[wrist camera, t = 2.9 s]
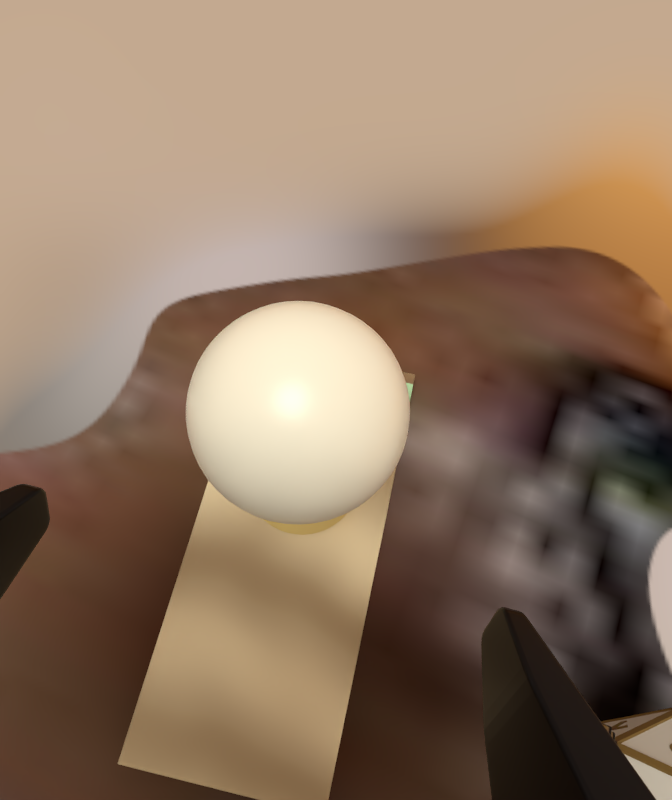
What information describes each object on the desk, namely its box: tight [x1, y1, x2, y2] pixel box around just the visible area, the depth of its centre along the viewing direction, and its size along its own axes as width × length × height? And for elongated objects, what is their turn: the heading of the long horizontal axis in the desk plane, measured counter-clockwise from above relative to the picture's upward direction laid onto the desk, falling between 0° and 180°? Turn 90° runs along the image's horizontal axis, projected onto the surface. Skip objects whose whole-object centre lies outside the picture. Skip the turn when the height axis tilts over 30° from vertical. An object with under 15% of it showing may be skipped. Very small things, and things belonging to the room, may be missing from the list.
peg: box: [186, 301, 410, 535], centre depth 13 cm, size 5×7×14 cm
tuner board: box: [118, 372, 415, 800], centre depth 19 cm, size 18×8×1 cm, turn 166°
